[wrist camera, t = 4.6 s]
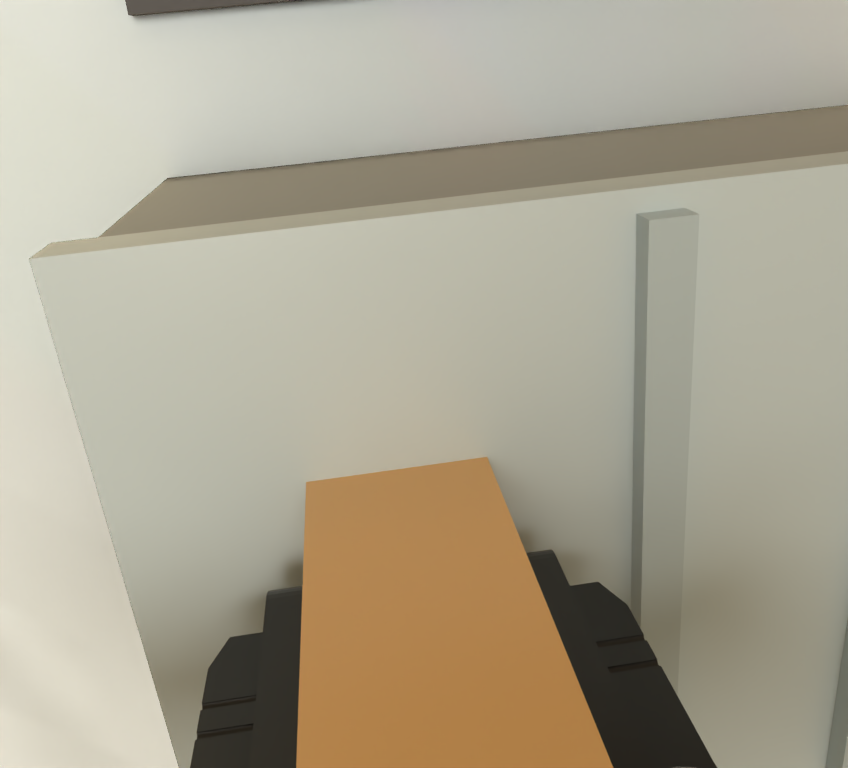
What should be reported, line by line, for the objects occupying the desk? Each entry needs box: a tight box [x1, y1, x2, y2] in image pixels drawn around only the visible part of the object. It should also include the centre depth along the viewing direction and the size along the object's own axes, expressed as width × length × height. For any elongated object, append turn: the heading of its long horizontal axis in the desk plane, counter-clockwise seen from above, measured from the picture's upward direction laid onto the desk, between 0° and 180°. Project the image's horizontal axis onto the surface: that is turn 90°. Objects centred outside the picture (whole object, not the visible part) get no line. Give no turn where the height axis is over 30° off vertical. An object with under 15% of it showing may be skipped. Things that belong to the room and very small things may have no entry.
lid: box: [29, 151, 848, 768], centre depth 10 cm, size 17×11×8 cm, turn 96°
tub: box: [99, 105, 848, 237], centre depth 16 cm, size 16×10×6 cm, turn 95°
